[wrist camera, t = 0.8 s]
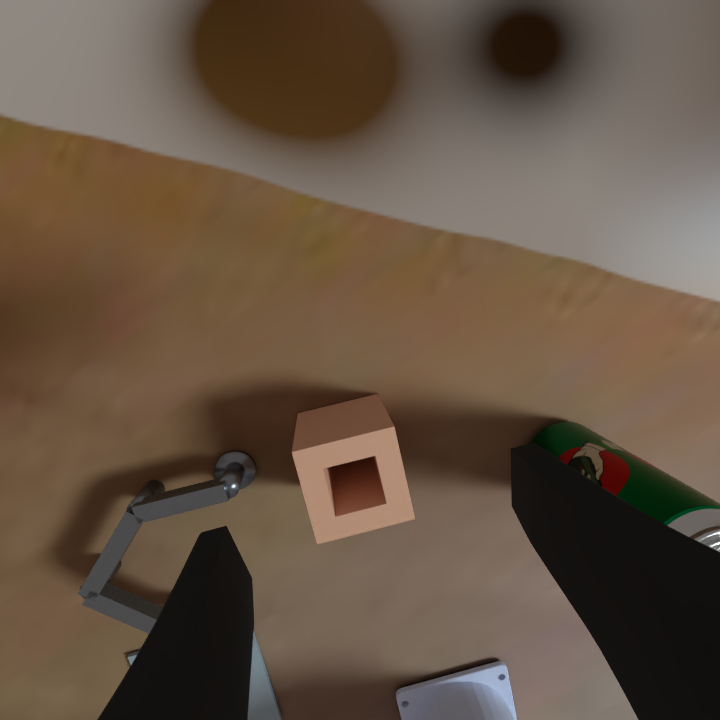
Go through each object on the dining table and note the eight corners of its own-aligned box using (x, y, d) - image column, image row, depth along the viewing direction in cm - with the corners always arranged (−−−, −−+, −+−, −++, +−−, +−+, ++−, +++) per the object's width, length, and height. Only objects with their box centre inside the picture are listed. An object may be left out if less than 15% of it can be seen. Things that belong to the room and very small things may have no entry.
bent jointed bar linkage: (293, 591, 29) (290, 627, 26) (129, 635, 28) (107, 676, 26) (249, 446, 27) (241, 467, 24) (71, 490, 26) (40, 517, 23)
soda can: (515, 492, 29) (648, 639, 17) (524, 418, 28) (671, 521, 16) (588, 491, 30) (766, 634, 18) (599, 419, 29) (794, 519, 17)
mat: (282, 717, 31) (281, 721, 30) (167, 749, 30) (166, 753, 30) (250, 621, 29) (249, 624, 29) (129, 653, 29) (127, 657, 28)
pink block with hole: (395, 467, 28) (415, 519, 22) (317, 487, 28) (317, 544, 22) (378, 393, 27) (394, 426, 21) (297, 413, 27) (291, 452, 21)
